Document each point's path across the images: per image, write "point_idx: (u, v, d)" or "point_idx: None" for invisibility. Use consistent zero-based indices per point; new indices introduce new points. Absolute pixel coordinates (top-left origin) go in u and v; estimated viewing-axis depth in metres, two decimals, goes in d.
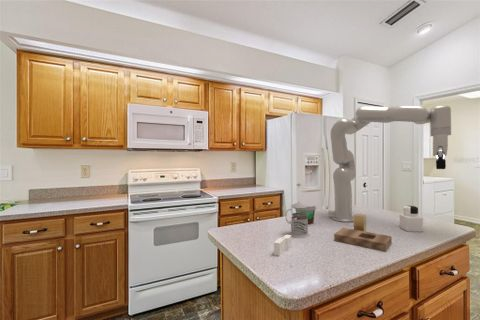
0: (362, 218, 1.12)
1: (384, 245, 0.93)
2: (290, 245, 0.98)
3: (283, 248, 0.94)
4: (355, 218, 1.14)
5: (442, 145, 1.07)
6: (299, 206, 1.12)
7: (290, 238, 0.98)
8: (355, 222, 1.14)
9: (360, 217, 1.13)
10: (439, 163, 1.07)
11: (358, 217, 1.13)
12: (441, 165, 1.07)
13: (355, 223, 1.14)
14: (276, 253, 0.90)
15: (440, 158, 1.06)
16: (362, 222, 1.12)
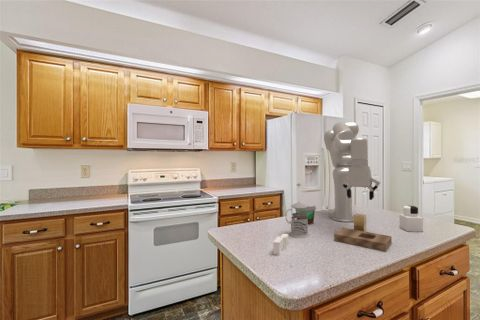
0: (362, 218, 1.12)
1: (384, 245, 0.93)
2: (288, 244, 1.00)
3: (282, 247, 0.95)
4: (355, 218, 1.14)
5: None
6: (299, 206, 1.12)
7: (287, 237, 0.99)
8: (355, 222, 1.14)
9: (360, 217, 1.13)
10: (373, 194, 1.10)
11: (358, 217, 1.13)
12: (373, 196, 1.11)
13: (355, 223, 1.14)
14: (275, 252, 0.91)
15: (374, 189, 1.10)
16: (362, 222, 1.12)
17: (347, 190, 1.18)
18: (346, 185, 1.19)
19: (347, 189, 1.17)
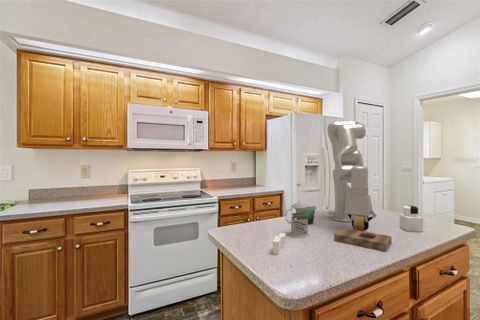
0: (362, 218, 1.12)
1: (384, 245, 0.93)
2: (285, 243, 1.01)
3: (280, 246, 0.95)
4: (355, 218, 1.14)
5: (371, 205, 1.12)
6: (299, 206, 1.12)
7: (285, 236, 1.00)
8: (355, 221, 1.14)
9: (360, 217, 1.13)
10: (367, 225, 1.12)
11: (358, 217, 1.13)
12: (368, 226, 1.13)
13: (355, 223, 1.14)
14: (275, 252, 0.92)
15: (369, 220, 1.12)
16: (362, 222, 1.12)
17: (352, 220, 1.16)
18: (351, 215, 1.18)
19: (352, 219, 1.16)
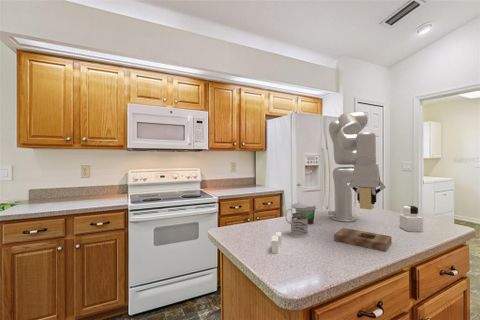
0: (369, 190, 0.99)
1: (384, 245, 0.93)
2: (281, 242, 1.02)
3: None
4: (361, 191, 1.01)
5: (379, 175, 0.99)
6: (299, 206, 1.12)
7: (281, 235, 1.02)
8: (361, 195, 1.01)
9: (367, 189, 1.00)
10: (375, 198, 0.99)
11: (364, 189, 1.00)
12: None
13: (361, 197, 1.01)
14: (274, 251, 0.93)
15: (377, 192, 0.99)
16: (369, 195, 0.99)
17: (358, 194, 1.04)
18: (356, 188, 1.05)
19: (358, 193, 1.03)
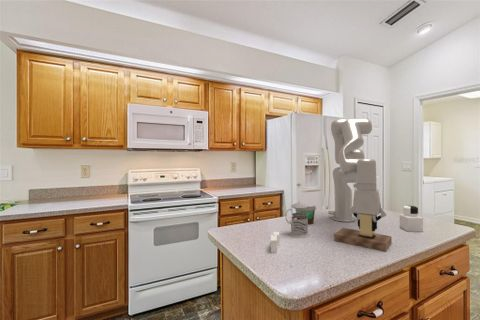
0: (370, 217, 0.99)
1: (384, 245, 0.93)
2: None
3: None
4: (362, 217, 1.01)
5: None
6: (299, 206, 1.12)
7: None
8: (362, 221, 1.01)
9: (367, 216, 1.00)
10: (376, 225, 0.99)
11: (365, 216, 1.00)
12: (376, 227, 1.00)
13: (362, 223, 1.01)
14: (273, 250, 0.93)
15: (378, 219, 0.99)
16: (370, 222, 0.99)
17: (358, 220, 1.03)
18: (357, 214, 1.05)
19: (358, 219, 1.03)
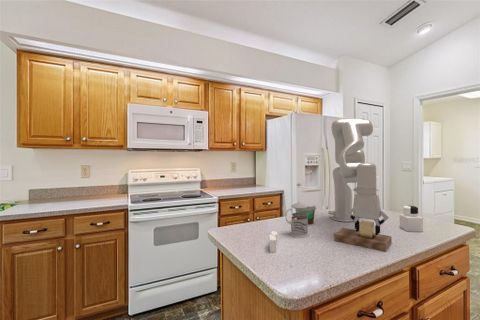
0: (370, 226, 0.99)
1: (384, 245, 0.93)
2: None
3: None
4: (362, 226, 1.01)
5: None
6: (299, 206, 1.12)
7: (276, 234, 1.03)
8: (362, 230, 1.01)
9: (367, 225, 1.00)
10: (379, 229, 0.99)
11: (365, 225, 1.00)
12: (379, 230, 0.99)
13: (362, 232, 1.01)
14: (272, 250, 0.94)
15: (381, 223, 0.98)
16: (370, 230, 0.99)
17: (355, 222, 1.04)
18: (354, 216, 1.06)
19: (355, 221, 1.04)
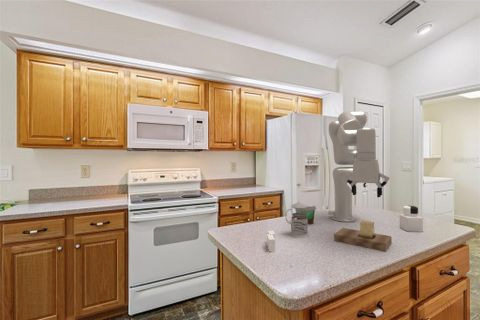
0: (370, 226, 0.99)
1: (384, 245, 0.93)
2: None
3: None
4: (362, 226, 1.01)
5: (379, 171, 1.00)
6: (299, 206, 1.12)
7: None
8: (362, 230, 1.01)
9: (368, 225, 1.00)
10: (381, 191, 0.98)
11: (365, 225, 1.00)
12: (381, 193, 0.99)
13: (362, 232, 1.01)
14: (271, 249, 0.94)
15: (383, 185, 0.98)
16: (370, 230, 0.99)
17: (352, 186, 1.06)
18: (351, 181, 1.07)
19: (352, 185, 1.05)
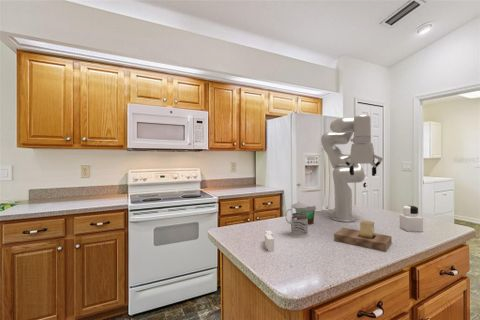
0: (370, 226, 0.99)
1: (384, 245, 0.93)
2: None
3: None
4: (362, 226, 1.01)
5: (373, 153, 1.13)
6: (299, 206, 1.12)
7: None
8: (362, 230, 1.01)
9: (368, 225, 1.00)
10: (375, 170, 1.12)
11: (365, 225, 1.00)
12: None
13: (362, 232, 1.01)
14: (270, 249, 0.95)
15: (377, 165, 1.11)
16: (370, 230, 0.99)
17: (350, 167, 1.19)
18: (349, 163, 1.20)
19: (350, 166, 1.18)
